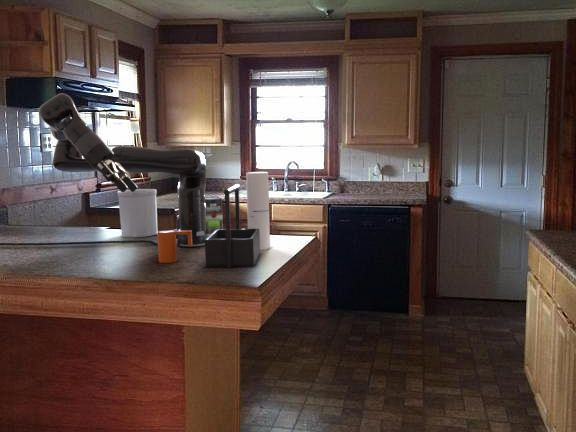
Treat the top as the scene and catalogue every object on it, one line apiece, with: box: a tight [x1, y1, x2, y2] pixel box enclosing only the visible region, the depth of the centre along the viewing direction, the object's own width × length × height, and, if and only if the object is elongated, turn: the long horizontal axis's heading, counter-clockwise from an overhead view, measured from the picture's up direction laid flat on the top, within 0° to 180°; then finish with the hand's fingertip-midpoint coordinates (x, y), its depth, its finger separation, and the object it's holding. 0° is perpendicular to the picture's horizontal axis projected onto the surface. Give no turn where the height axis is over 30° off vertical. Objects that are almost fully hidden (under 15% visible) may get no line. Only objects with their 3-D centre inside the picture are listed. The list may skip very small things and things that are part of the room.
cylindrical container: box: [245, 171, 271, 251], centre depth 210 cm, size 7×7×25 cm
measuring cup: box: [156, 229, 192, 264], centre depth 190 cm, size 10×5×9 cm, turn 88°
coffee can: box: [205, 196, 224, 237], centre depth 246 cm, size 10×10×14 cm
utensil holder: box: [116, 188, 158, 238], centre depth 249 cm, size 15×15×18 cm
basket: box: [204, 183, 261, 269], centre depth 189 cm, size 14×24×22 cm, turn 178°
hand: (130, 190), depth 189 cm, fingers open, 8 cm apart
